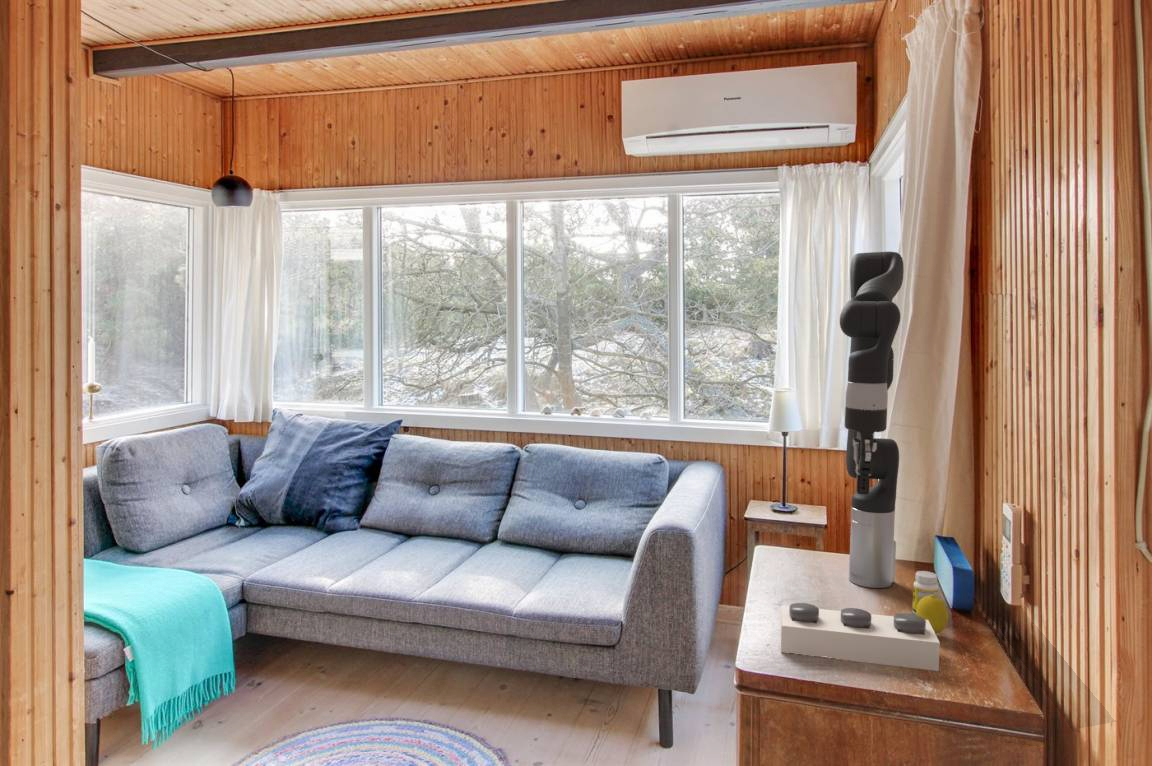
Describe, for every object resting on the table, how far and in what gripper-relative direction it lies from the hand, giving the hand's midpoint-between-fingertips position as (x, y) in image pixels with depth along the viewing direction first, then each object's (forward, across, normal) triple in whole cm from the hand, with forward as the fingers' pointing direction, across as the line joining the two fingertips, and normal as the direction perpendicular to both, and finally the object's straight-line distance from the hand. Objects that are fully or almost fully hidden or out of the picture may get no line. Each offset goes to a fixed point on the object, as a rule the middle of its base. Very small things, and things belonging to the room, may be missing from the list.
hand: (862, 493), depth 142 cm
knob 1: (+25, -13, +11) cm, 30 cm away
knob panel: (+26, -13, +2) cm, 29 cm away
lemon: (+26, -3, -13) cm, 29 cm away
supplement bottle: (+27, +8, -14) cm, 31 cm away
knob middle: (+25, -13, +2) cm, 28 cm away
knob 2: (+25, -13, -7) cm, 29 cm away
